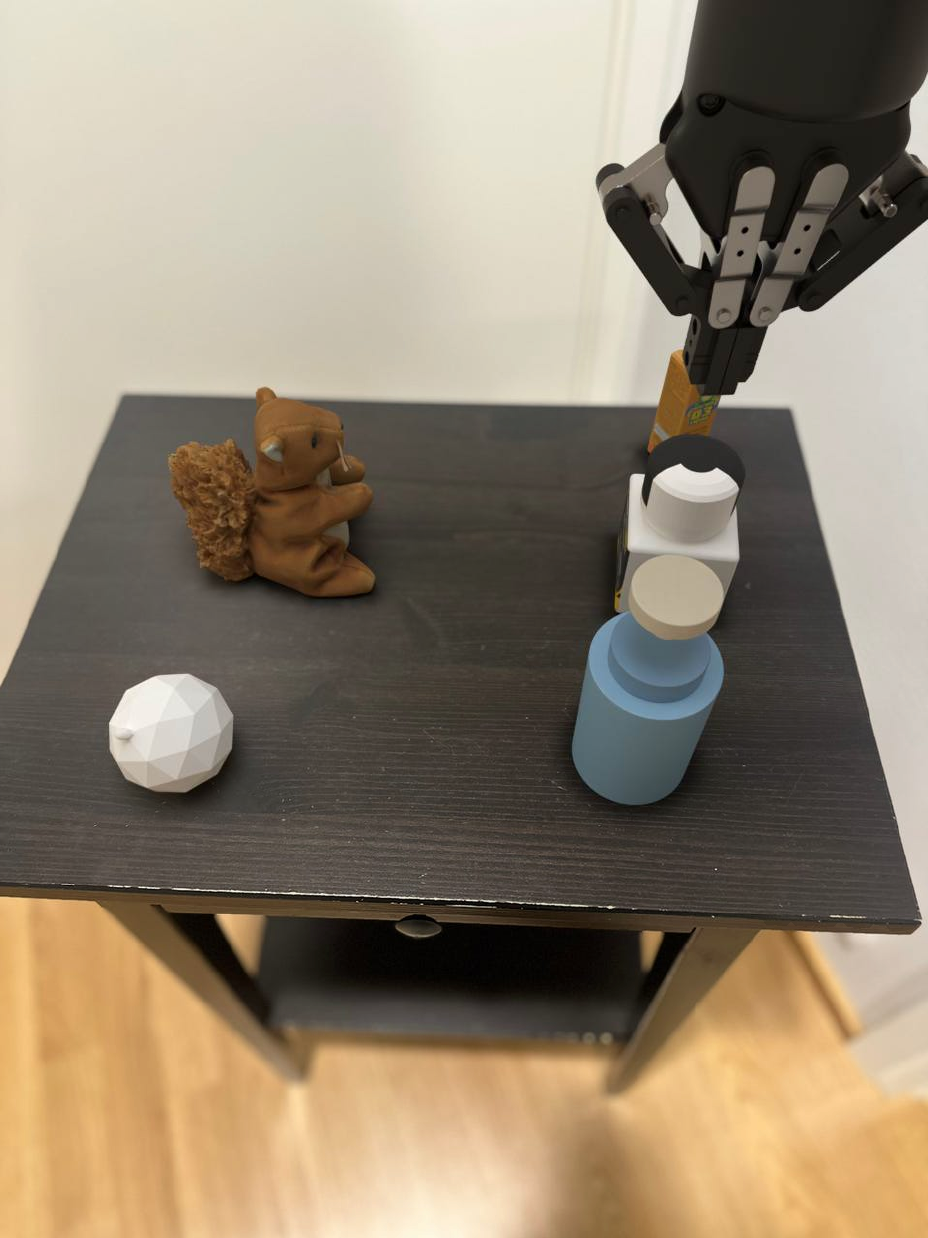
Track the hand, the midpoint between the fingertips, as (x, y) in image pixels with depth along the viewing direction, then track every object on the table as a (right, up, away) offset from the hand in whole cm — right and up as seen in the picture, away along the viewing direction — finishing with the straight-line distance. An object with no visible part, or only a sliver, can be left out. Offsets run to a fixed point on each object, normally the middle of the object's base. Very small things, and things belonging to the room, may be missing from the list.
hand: (712, 383), depth 39 cm
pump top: (-1, -11, +5) cm, 12 cm away
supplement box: (+6, +2, +32) cm, 33 cm away
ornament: (-29, -20, +16) cm, 38 cm away
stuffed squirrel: (-25, -6, +27) cm, 37 cm away
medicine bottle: (+3, -8, +25) cm, 26 cm away
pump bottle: (-1, -19, +16) cm, 25 cm away
